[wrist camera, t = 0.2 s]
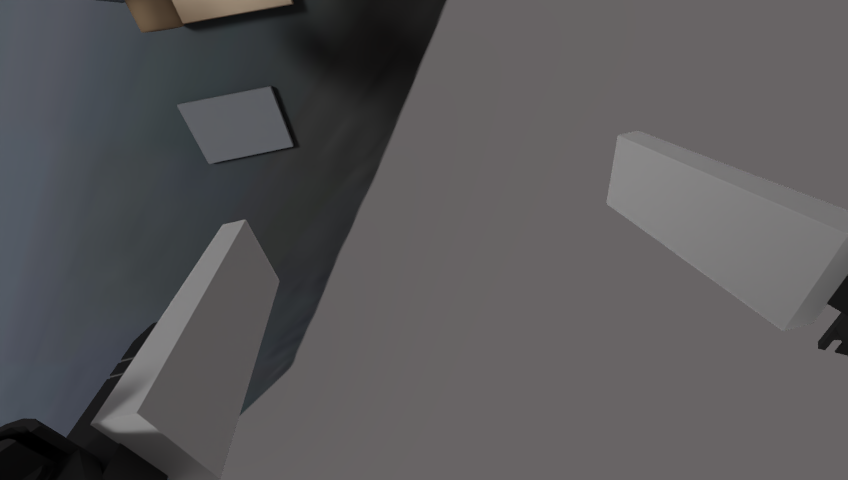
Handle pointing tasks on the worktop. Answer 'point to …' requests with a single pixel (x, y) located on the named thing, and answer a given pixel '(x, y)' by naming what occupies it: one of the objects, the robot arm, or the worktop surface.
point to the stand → (191, 11)
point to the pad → (237, 124)
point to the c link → (120, 0)
